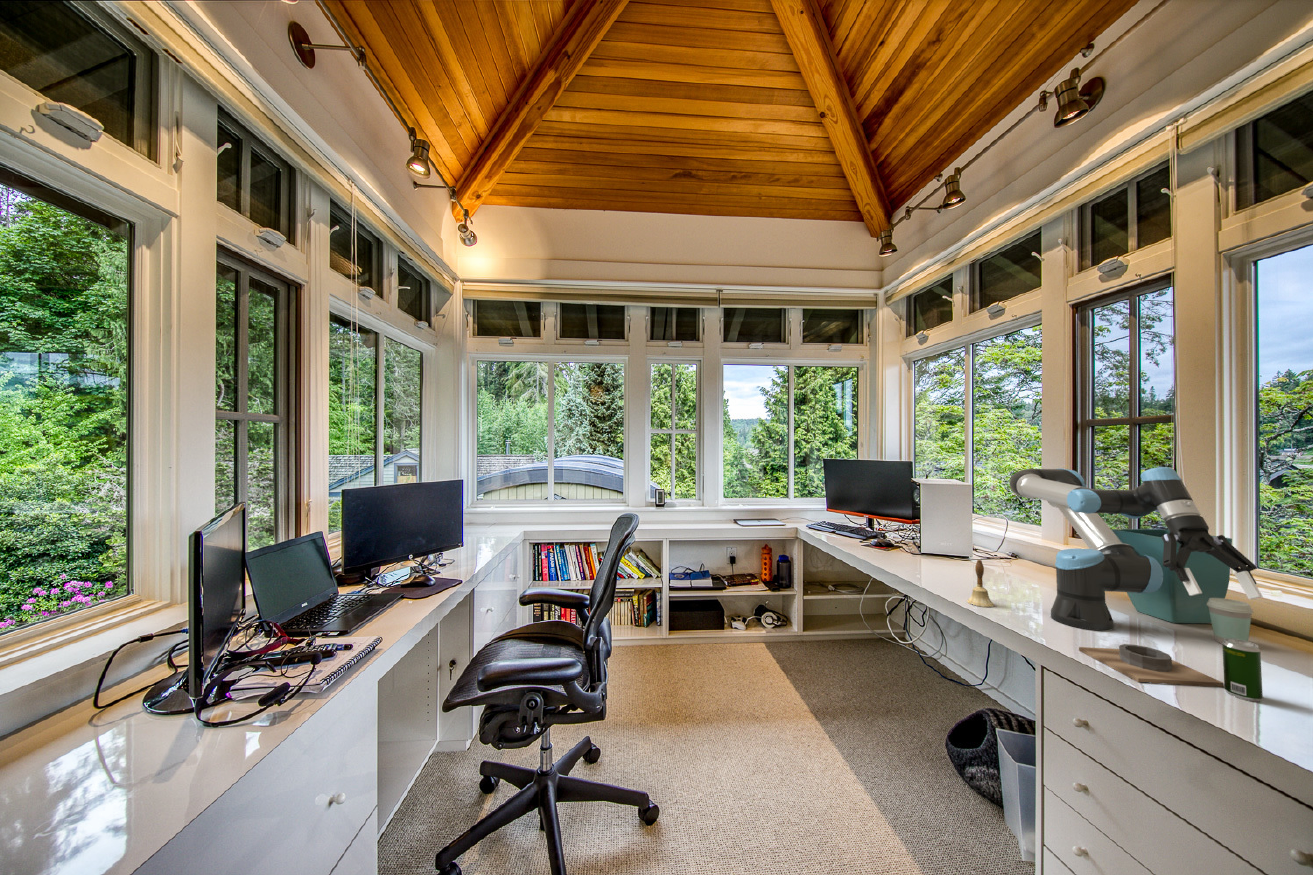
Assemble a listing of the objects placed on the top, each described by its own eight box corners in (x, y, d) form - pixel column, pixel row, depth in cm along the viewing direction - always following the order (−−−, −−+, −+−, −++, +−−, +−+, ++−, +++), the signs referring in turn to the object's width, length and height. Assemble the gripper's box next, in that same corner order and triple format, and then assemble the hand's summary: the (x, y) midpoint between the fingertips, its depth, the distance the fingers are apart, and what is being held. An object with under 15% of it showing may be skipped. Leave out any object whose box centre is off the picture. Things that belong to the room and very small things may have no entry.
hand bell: (963, 599, 173) (962, 557, 174) (988, 601, 171) (987, 558, 172) (972, 606, 165) (971, 562, 166) (998, 608, 163) (997, 563, 164)
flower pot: (1112, 606, 165) (1109, 528, 166) (1169, 607, 164) (1166, 528, 165) (1172, 627, 145) (1168, 538, 146) (1238, 628, 144) (1234, 538, 145)
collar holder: (1078, 650, 128) (1078, 636, 128) (1151, 653, 126) (1150, 639, 126) (1138, 682, 110) (1137, 665, 110) (1223, 686, 108) (1222, 669, 108)
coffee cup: (1265, 650, 128) (1263, 607, 128) (1228, 648, 130) (1225, 605, 130) (1233, 638, 136) (1231, 598, 137) (1198, 636, 138) (1197, 596, 138)
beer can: (1261, 704, 100) (1258, 649, 101) (1222, 694, 105) (1220, 641, 105) (1264, 697, 103) (1261, 643, 103) (1226, 687, 108) (1223, 635, 108)
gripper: (1144, 511, 127) (1184, 589, 116) (1246, 515, 124) (1297, 595, 113) (1123, 521, 134) (1159, 596, 123) (1220, 525, 131) (1265, 602, 120)
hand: (1225, 596), depth 118 cm, fingers open, 13 cm apart
